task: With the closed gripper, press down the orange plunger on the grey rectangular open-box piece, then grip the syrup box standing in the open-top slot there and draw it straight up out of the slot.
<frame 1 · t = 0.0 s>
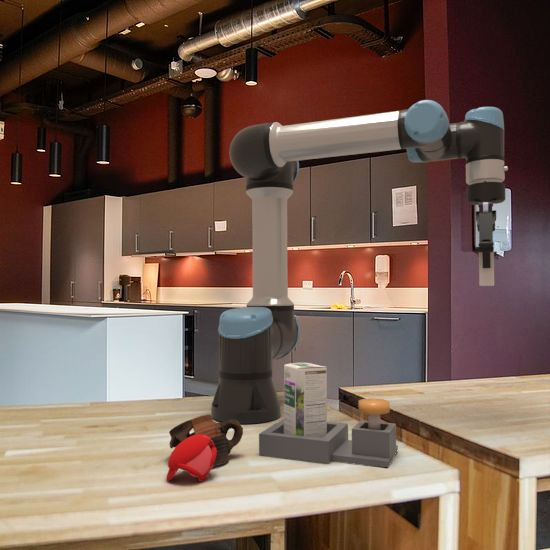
hand: (487, 285, 109), 28 cm above the table, tool pointing down, fingers open, 13 cm apart
cap: (191, 478, 77), on the table
pottery mug: (207, 461, 85), on the table
grey rectangular open-box piece: (305, 448, 90), on the table
syrup box: (305, 450, 90), resting in grey rectangular open-box piece
plunger: (374, 418, 86), point 6 cm above the table, slide at 0.0 cm
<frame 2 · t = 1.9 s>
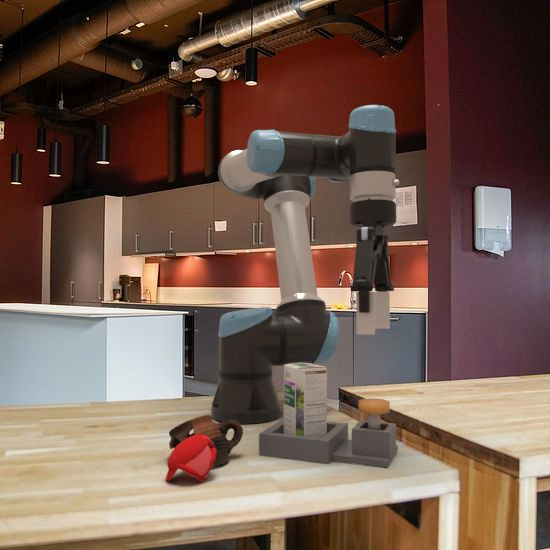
hand: (374, 331, 87), 20 cm above the table, tool pointing down, fingers open, 12 cm apart
nothing on the table moved.
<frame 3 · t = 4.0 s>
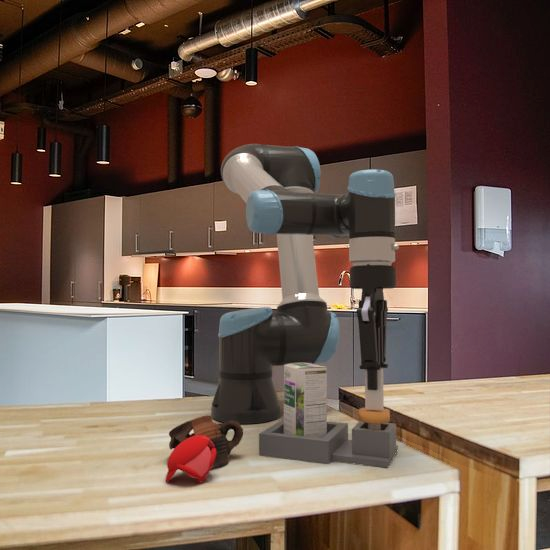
hand: (374, 408, 86), 8 cm above the table, tool pointing down, fingers closed
plunger: (374, 427, 86), point 5 cm above the table, slide at 1.4 cm, touching gripper
everything else where it was.
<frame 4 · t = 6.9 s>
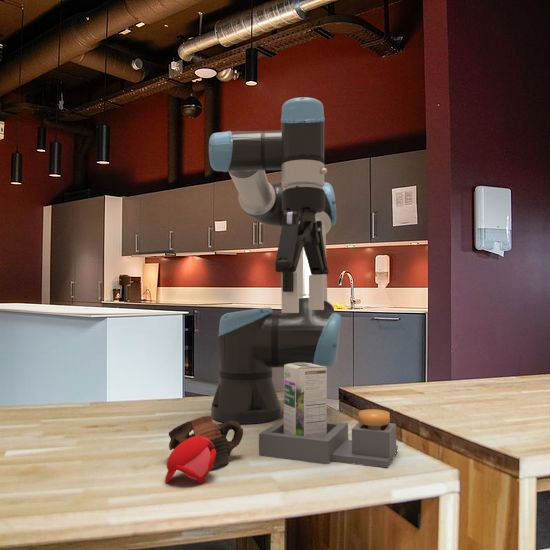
hand: (304, 311, 91), 24 cm above the table, tool pointing down, fingers open, 13 cm apart
plunger: (374, 429, 86), point 4 cm above the table, slide at 1.8 cm
everything else where it was.
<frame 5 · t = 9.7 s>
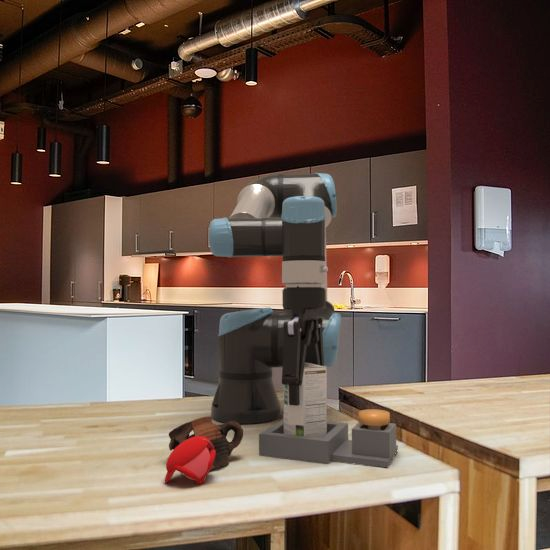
hand: (304, 418, 91), 5 cm above the table, tool pointing down, fingers closed on syrup box, 8 cm apart
syrup box: (305, 450, 90), resting in grey rectangular open-box piece, touching gripper
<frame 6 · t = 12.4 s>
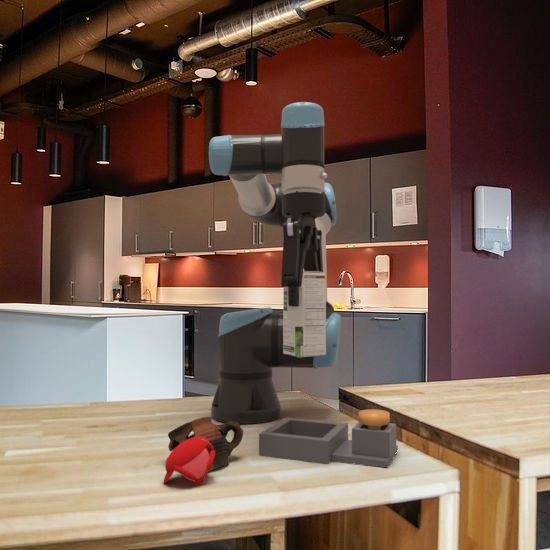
hand: (304, 324, 91), 21 cm above the table, tool pointing down, fingers closed on syrup box, 8 cm apart
cap: (189, 481, 76), on the table, touching pottery mug
pottery mug: (206, 463, 84), on the table, touching cap
syrup box: (304, 356, 91), point 16 cm above the table, touching gripper
everything else where it was.
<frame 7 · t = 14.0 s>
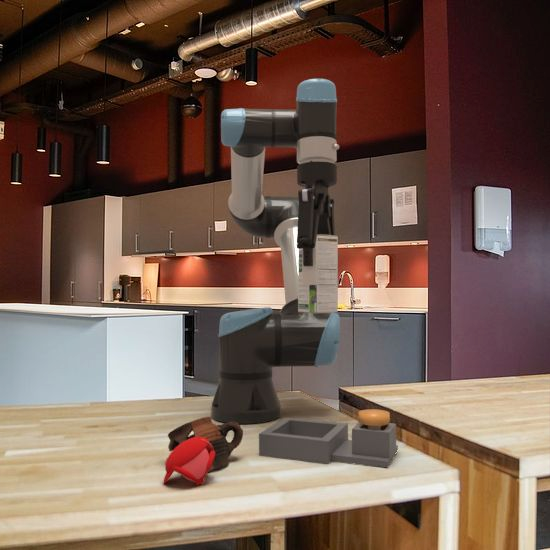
hand: (317, 284, 99), 28 cm above the table, tool pointing down, fingers closed on syrup box, 8 cm apart
syrup box: (318, 313, 99), point 23 cm above the table, touching gripper
everything else where it was.
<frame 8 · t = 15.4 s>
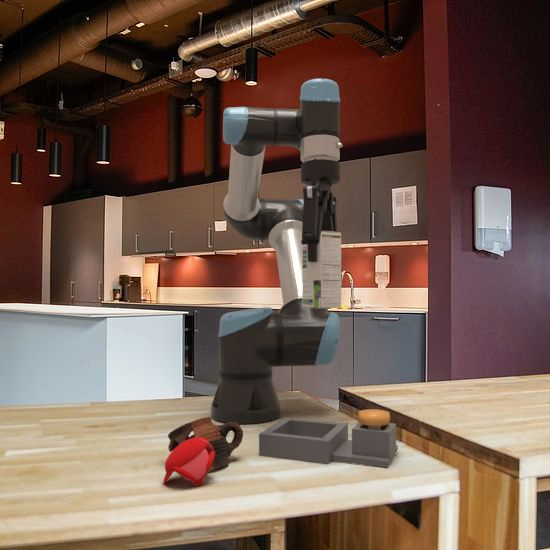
hand: (321, 280, 101), 29 cm above the table, tool pointing down, fingers closed on syrup box, 8 cm apart
cap: (189, 482, 76), on the table
pottery mug: (206, 464, 84), on the table
syrup box: (321, 308, 100), point 24 cm above the table, touching gripper
everything else where it was.
at the end: plunger slide at 1.8 cm; syrup box point 23.7 cm above the table; the gripper is holding syrup box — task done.
